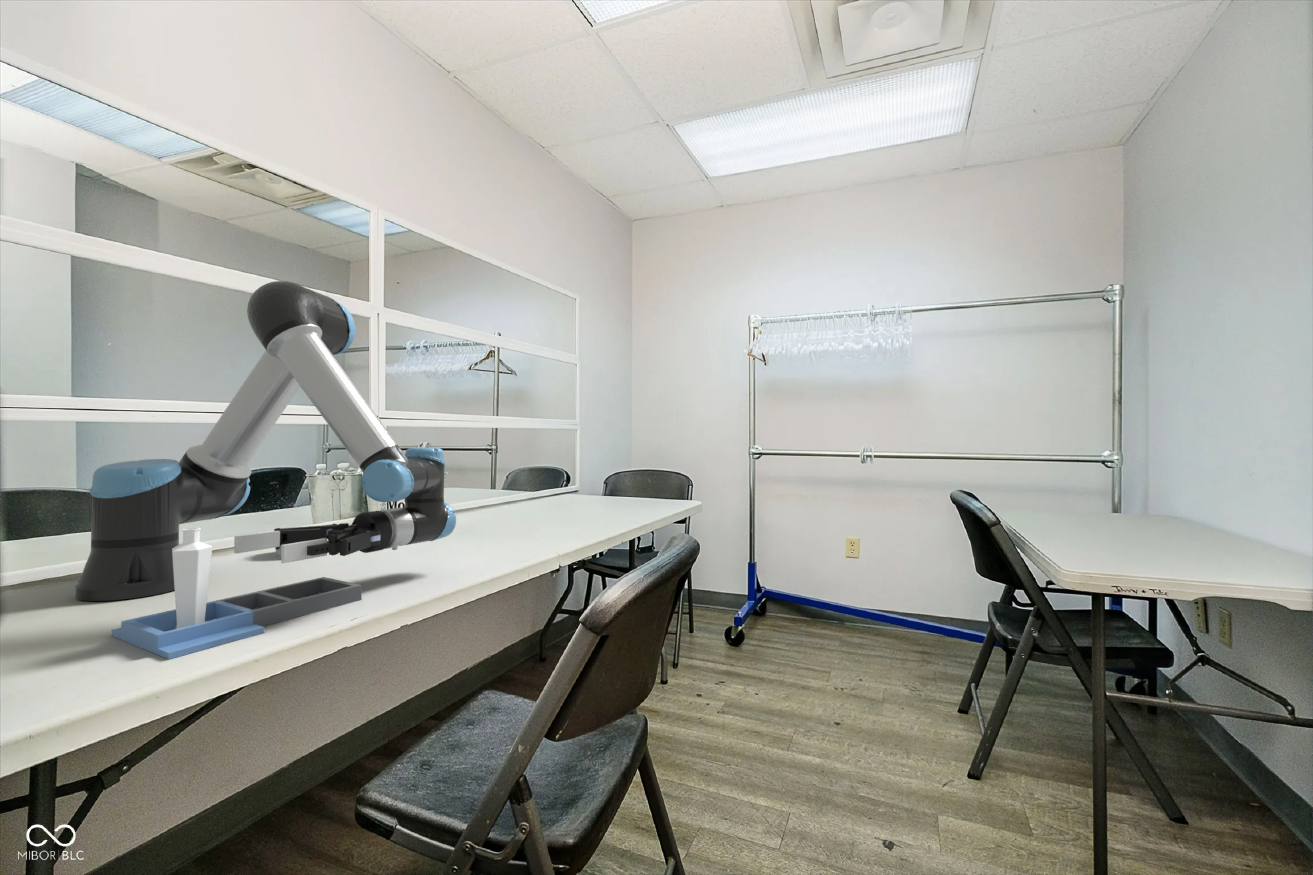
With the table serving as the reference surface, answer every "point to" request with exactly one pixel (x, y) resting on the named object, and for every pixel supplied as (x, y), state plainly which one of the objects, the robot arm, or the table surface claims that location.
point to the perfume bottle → (191, 578)
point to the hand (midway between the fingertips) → (257, 549)
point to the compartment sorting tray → (235, 617)
